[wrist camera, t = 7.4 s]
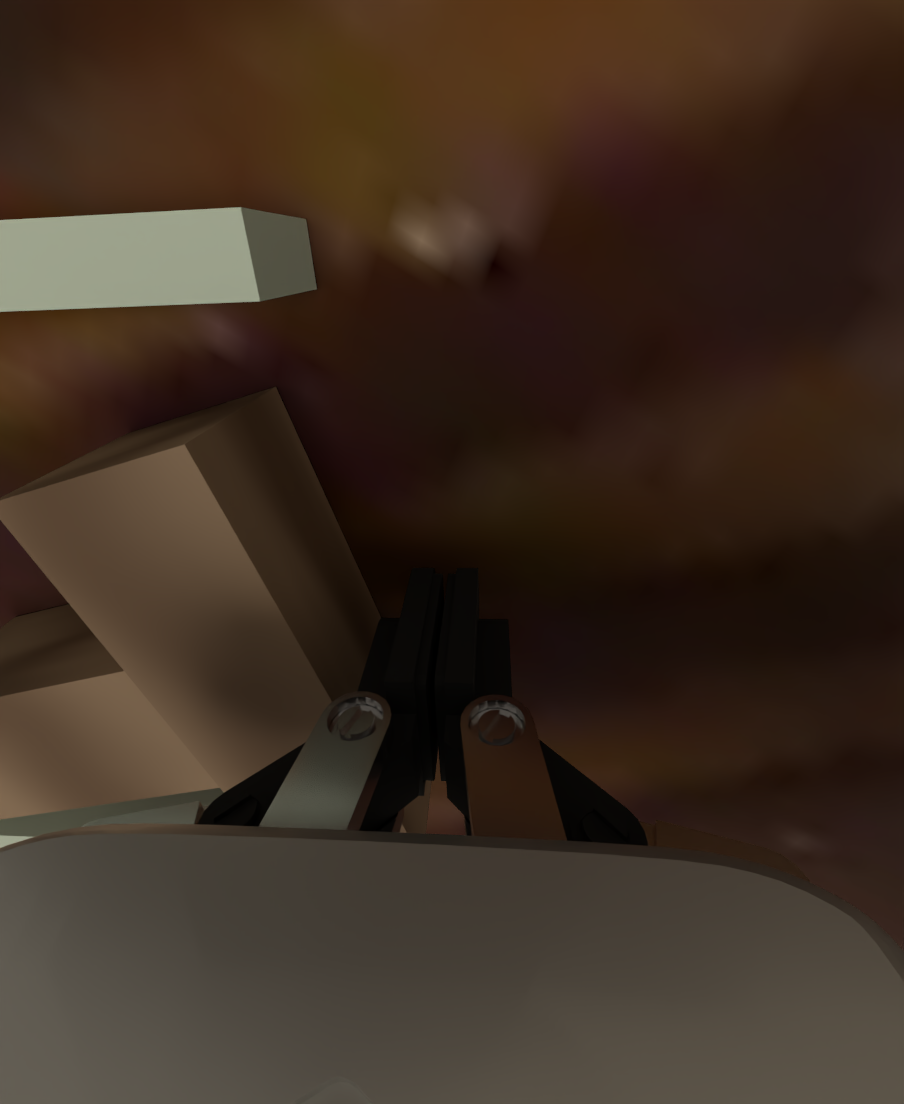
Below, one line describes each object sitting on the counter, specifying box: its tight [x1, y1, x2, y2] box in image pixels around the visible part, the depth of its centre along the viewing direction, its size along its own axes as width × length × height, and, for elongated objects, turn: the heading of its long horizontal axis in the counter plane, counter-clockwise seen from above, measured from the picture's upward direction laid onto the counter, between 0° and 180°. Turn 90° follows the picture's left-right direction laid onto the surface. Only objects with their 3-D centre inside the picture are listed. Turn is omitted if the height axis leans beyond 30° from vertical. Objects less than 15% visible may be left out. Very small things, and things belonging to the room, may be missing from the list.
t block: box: [0, 387, 431, 834], centre depth 14 cm, size 11×12×4 cm
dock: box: [0, 207, 317, 848], centre depth 13 cm, size 14×17×3 cm
